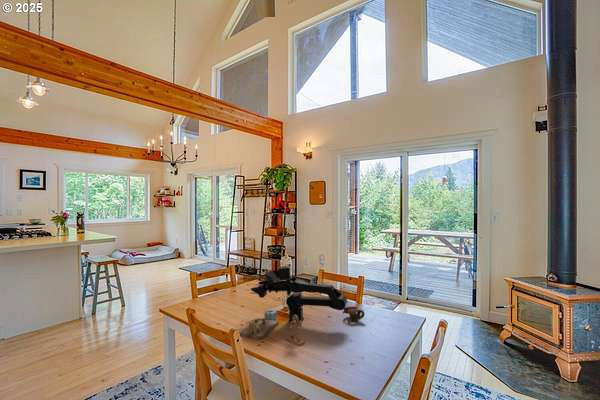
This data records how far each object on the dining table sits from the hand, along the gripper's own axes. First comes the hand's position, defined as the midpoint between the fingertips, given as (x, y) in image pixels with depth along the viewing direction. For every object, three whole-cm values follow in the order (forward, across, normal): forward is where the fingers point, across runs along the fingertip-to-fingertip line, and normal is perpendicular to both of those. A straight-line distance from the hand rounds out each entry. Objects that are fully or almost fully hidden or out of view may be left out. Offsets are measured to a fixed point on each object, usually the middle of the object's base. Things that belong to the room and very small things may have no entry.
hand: (254, 285), depth 163 cm
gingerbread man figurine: (-31, +24, +17) cm, 43 cm away
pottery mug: (-52, -8, +22) cm, 58 cm away
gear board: (-10, +18, +15) cm, 26 cm away
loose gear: (-10, +4, +17) cm, 20 cm away
